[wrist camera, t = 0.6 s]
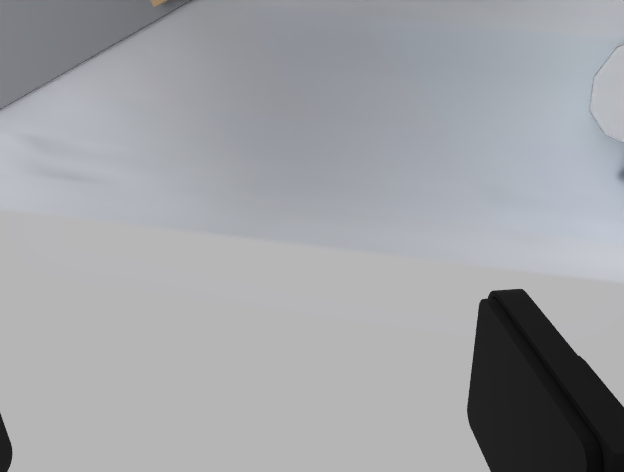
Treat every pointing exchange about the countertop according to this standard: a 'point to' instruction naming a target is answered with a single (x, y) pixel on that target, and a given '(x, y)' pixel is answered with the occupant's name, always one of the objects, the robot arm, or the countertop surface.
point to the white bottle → (610, 96)
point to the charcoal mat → (62, 36)
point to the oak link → (157, 2)
